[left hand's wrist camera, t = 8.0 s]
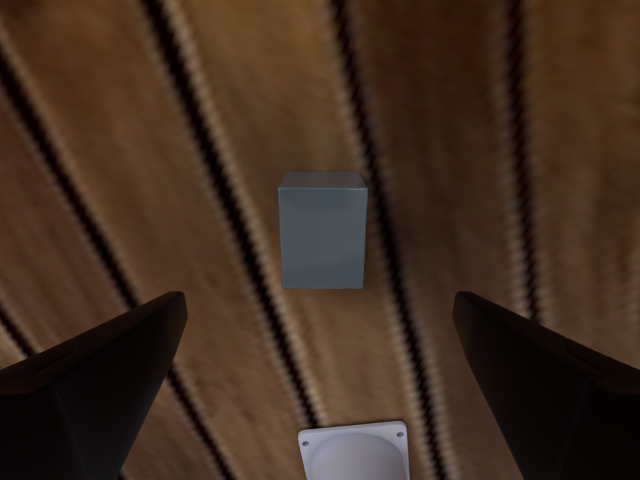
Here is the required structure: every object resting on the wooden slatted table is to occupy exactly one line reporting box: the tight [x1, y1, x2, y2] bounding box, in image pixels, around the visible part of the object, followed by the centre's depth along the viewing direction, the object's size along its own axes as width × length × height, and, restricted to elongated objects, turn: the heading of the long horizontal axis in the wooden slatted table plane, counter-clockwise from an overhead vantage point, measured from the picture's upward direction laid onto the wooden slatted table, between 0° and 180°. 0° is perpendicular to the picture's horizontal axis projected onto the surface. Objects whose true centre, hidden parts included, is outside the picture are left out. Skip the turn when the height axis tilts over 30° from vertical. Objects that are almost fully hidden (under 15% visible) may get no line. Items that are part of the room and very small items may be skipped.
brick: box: [278, 171, 368, 289], centre depth 18 cm, size 4×5×4 cm
